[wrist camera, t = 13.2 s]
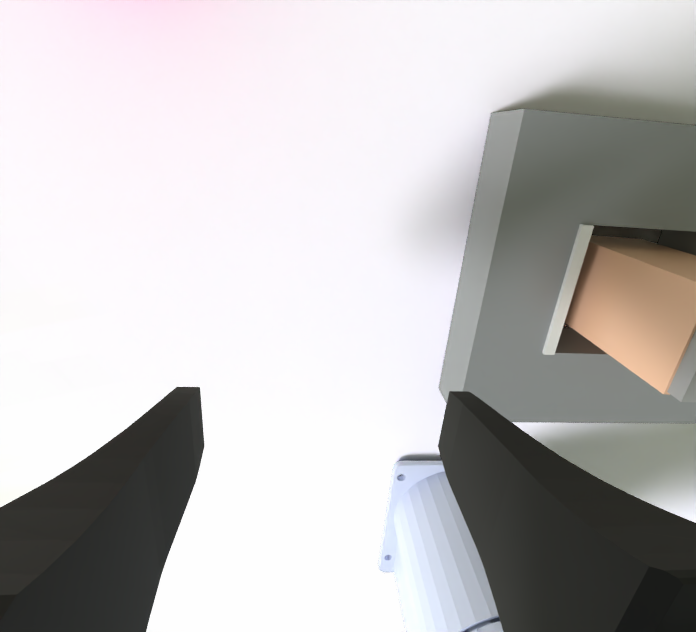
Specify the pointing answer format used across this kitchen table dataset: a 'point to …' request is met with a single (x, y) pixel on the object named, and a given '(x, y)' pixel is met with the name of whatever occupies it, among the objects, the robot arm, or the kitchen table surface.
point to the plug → (640, 310)
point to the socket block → (561, 262)
